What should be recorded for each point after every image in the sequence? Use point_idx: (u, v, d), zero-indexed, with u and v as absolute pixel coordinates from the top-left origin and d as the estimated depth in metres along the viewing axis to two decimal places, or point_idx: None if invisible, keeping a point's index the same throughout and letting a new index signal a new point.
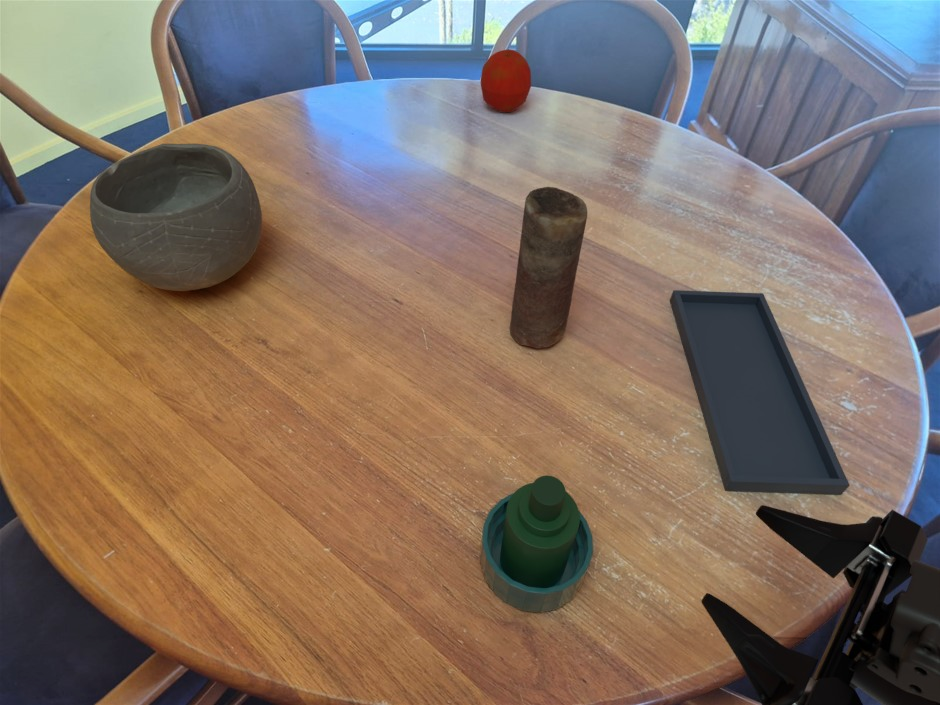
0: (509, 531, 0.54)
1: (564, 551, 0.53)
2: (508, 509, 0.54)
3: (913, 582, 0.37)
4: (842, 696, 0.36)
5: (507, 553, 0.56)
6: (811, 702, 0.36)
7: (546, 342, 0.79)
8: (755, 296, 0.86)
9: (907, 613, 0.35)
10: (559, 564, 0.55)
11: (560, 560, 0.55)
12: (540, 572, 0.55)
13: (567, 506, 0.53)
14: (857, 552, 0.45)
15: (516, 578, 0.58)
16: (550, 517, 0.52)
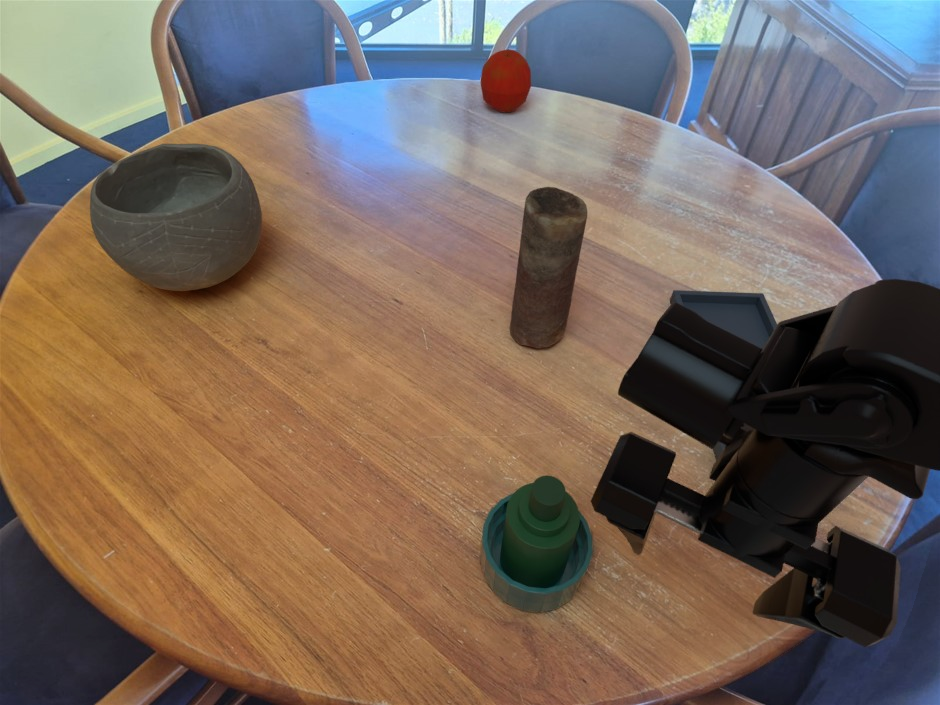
0: (509, 531, 0.54)
1: (564, 551, 0.53)
2: (508, 509, 0.54)
3: None
4: None
5: (507, 553, 0.56)
6: None
7: (546, 342, 0.79)
8: (755, 296, 0.86)
9: None
10: (559, 564, 0.55)
11: (560, 560, 0.55)
12: (540, 572, 0.55)
13: (567, 506, 0.53)
14: None
15: (516, 578, 0.58)
16: (550, 517, 0.52)
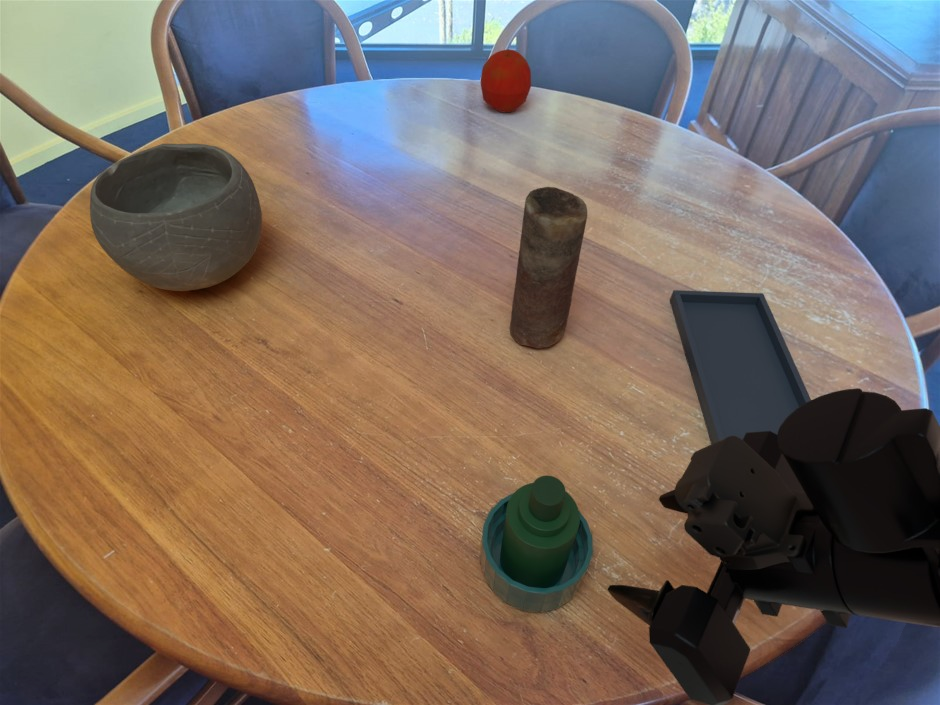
0: (509, 531, 0.54)
1: (564, 551, 0.53)
2: (508, 509, 0.54)
3: (688, 466, 0.40)
4: (684, 597, 0.37)
5: (507, 553, 0.56)
6: (656, 615, 0.37)
7: (546, 342, 0.79)
8: (755, 296, 0.86)
9: (680, 490, 0.38)
10: (559, 564, 0.55)
11: (560, 560, 0.55)
12: (540, 572, 0.55)
13: (567, 506, 0.53)
14: None
15: (516, 578, 0.58)
16: (550, 517, 0.52)
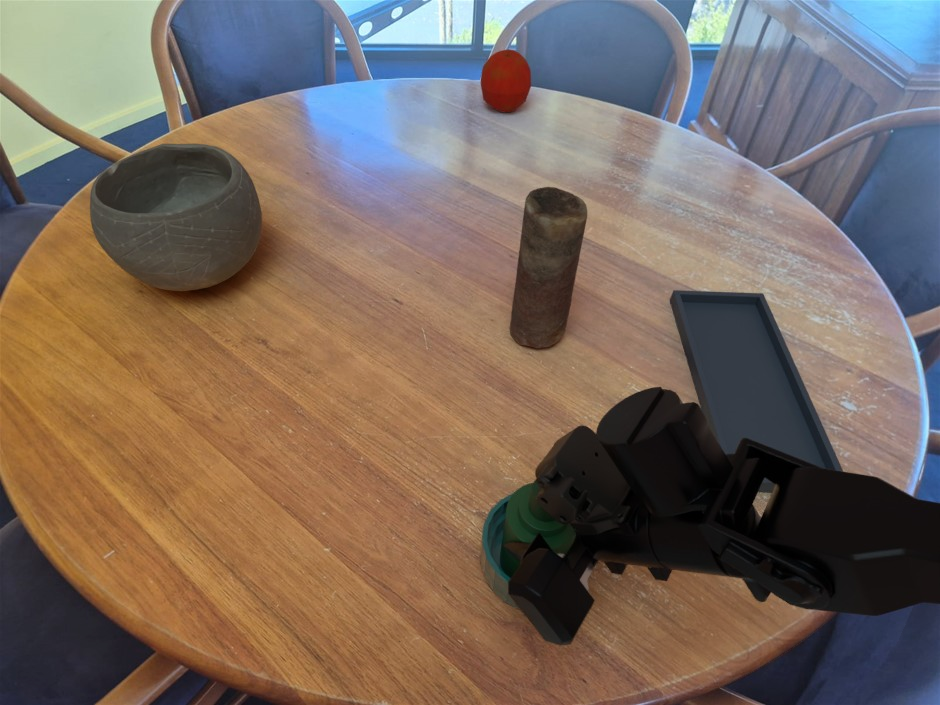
0: (509, 531, 0.54)
1: (564, 551, 0.53)
2: (508, 509, 0.54)
3: (549, 451, 0.48)
4: (538, 557, 0.45)
5: (507, 553, 0.56)
6: (515, 572, 0.45)
7: (546, 342, 0.79)
8: (755, 296, 0.86)
9: (538, 470, 0.46)
10: None
11: None
12: None
13: None
14: None
15: None
16: (550, 517, 0.52)
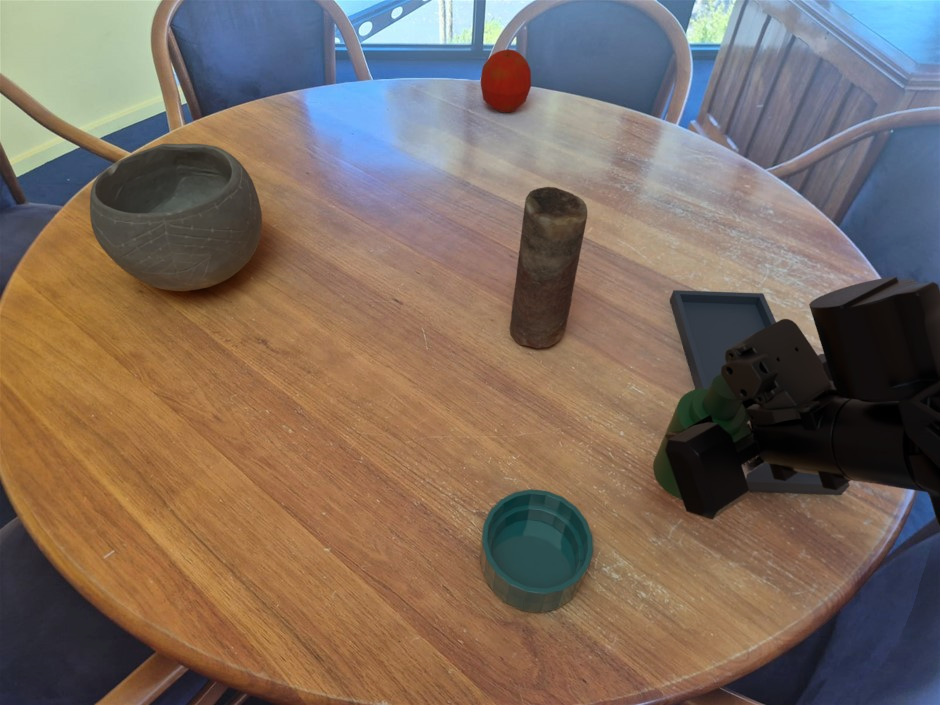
0: (675, 421, 0.54)
1: None
2: (680, 402, 0.55)
3: None
4: (705, 427, 0.46)
5: None
6: (678, 434, 0.46)
7: (546, 342, 0.79)
8: (755, 296, 0.86)
9: None
10: None
11: None
12: None
13: (743, 414, 0.52)
14: None
15: (666, 479, 0.58)
16: (723, 415, 0.51)
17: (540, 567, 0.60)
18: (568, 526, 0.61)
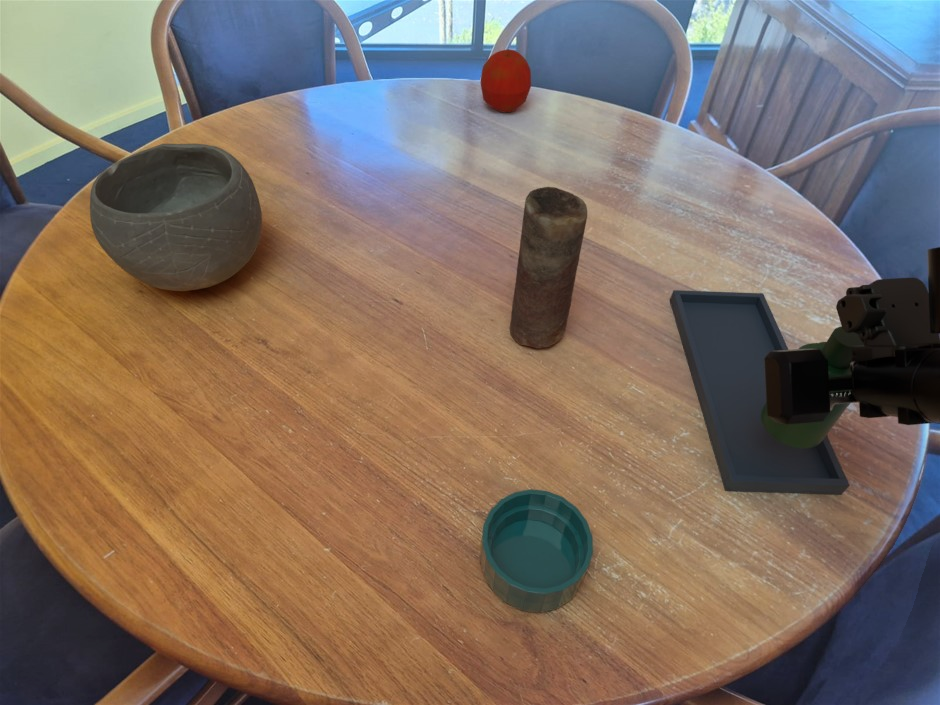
0: None
1: None
2: (802, 347, 0.61)
3: None
4: (806, 349, 0.52)
5: None
6: (780, 350, 0.54)
7: (546, 342, 0.79)
8: (755, 296, 0.86)
9: None
10: None
11: None
12: None
13: None
14: None
15: None
16: (835, 361, 0.57)
17: (540, 567, 0.60)
18: (568, 526, 0.61)
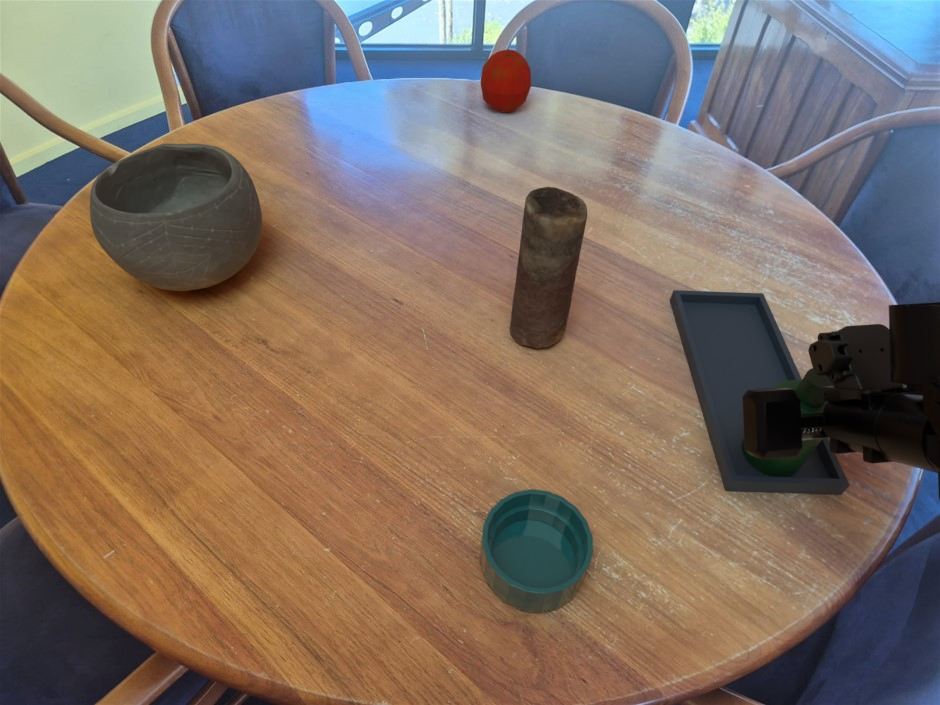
0: None
1: None
2: (779, 384, 0.65)
3: None
4: (781, 389, 0.56)
5: None
6: (757, 389, 0.58)
7: (546, 342, 0.79)
8: (755, 296, 0.86)
9: None
10: None
11: None
12: None
13: None
14: None
15: None
16: (808, 400, 0.61)
17: (540, 567, 0.60)
18: (568, 526, 0.61)
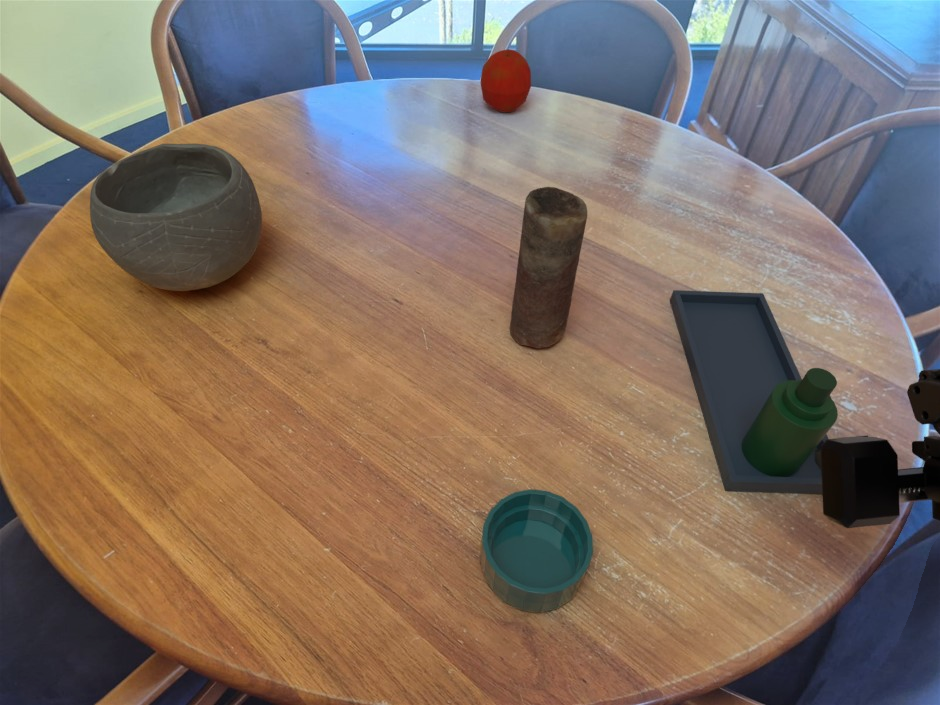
0: (768, 398, 0.65)
1: (801, 438, 0.62)
2: (779, 384, 0.65)
3: None
4: (871, 439, 0.45)
5: (755, 422, 0.67)
6: (839, 438, 0.46)
7: (546, 342, 0.79)
8: (755, 296, 0.86)
9: None
10: (790, 451, 0.64)
11: (793, 447, 0.64)
12: (771, 446, 0.65)
13: (828, 407, 0.61)
14: None
15: (749, 448, 0.68)
16: (808, 400, 0.61)
17: (540, 567, 0.60)
18: (568, 526, 0.61)
